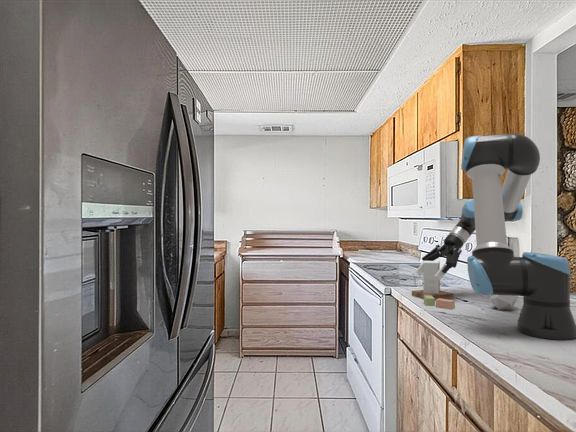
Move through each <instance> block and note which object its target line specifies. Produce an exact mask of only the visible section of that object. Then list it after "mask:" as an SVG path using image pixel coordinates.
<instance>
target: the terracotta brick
mask: <svg viewBox="0 0 576 432" xmlns="http://www.w3.org/2000/svg"><path fill="white" fill-rule="evenodd" d="M455 303H456V302H455V300H453V299H440V298H439V299H436V300H435V307H436V308H438V309H439V308H441V309H447V310H454V309H455V308H456V304H455Z"/></svg>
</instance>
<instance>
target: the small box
mask: <svg viewBox="0 0 576 432" xmlns="http://www.w3.org/2000/svg"><path fill="white" fill-rule="evenodd" d="M422 263H423V273H422V276H423V277H422V279H423V281H422V282H423V285H422V287H423V289H422V290H423V293H429V294H439V292H440V290H441V282H440V281H441V280H438V279H437V278H436V277H435V275H436V274H437V272H438V271H439V270H440V269H441V267H440V266H441V265H440V263H441V261H440V260H434V261H424V262H423V261H422Z"/></svg>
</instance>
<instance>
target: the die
mask: <svg viewBox="0 0 576 432" xmlns="http://www.w3.org/2000/svg"><path fill="white" fill-rule="evenodd" d="M518 298H519V296H510V295H492V296H491V295H489V299H488V300H489V301H490V302H491V303H492V305H494V307H495V308H497V310H498V311H499V310H502V311H503V310H504V311H505V310H508V311H509V310H513V309H514V307H515V304H516V302H517V300H518Z"/></svg>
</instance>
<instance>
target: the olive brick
mask: <svg viewBox="0 0 576 432" xmlns="http://www.w3.org/2000/svg"><path fill="white" fill-rule="evenodd" d="M423 303H424V304H425V305H426V306H427V307H430V306H431V307H436V300H435V298H434V297H433V296H431V295H424V299H423Z"/></svg>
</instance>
